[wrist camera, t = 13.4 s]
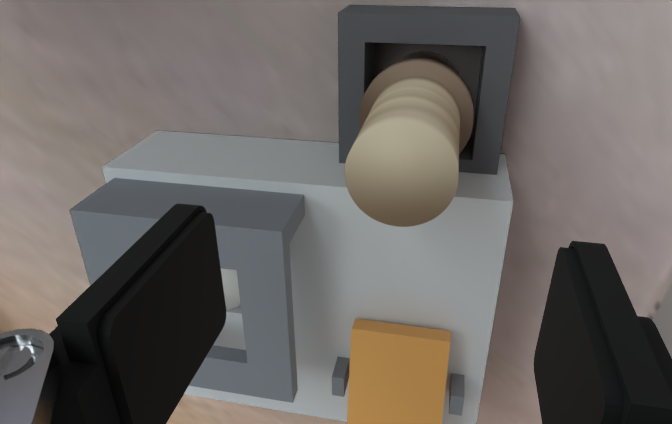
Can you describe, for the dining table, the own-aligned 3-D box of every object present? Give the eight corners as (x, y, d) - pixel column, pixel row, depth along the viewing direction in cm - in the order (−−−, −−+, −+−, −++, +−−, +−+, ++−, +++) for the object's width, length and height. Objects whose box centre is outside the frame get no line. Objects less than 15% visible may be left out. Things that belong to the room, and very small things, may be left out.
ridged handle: (376, 38, 24) (326, 102, 15) (477, 40, 23) (484, 108, 14) (375, 131, 26) (330, 234, 17) (467, 136, 25) (468, 246, 17)
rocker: (355, 318, 25) (351, 329, 24) (450, 330, 24) (450, 343, 23) (349, 442, 27) (344, 458, 26) (436, 458, 26) (436, 474, 25)
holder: (349, 4, 23) (337, 12, 21) (514, 8, 22) (520, 16, 20) (349, 153, 27) (339, 172, 25) (492, 163, 25) (495, 185, 23)
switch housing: (156, 130, 28) (55, 197, 21) (505, 154, 25) (520, 243, 18) (192, 332, 35) (123, 434, 28) (471, 373, 32) (473, 501, 25)
